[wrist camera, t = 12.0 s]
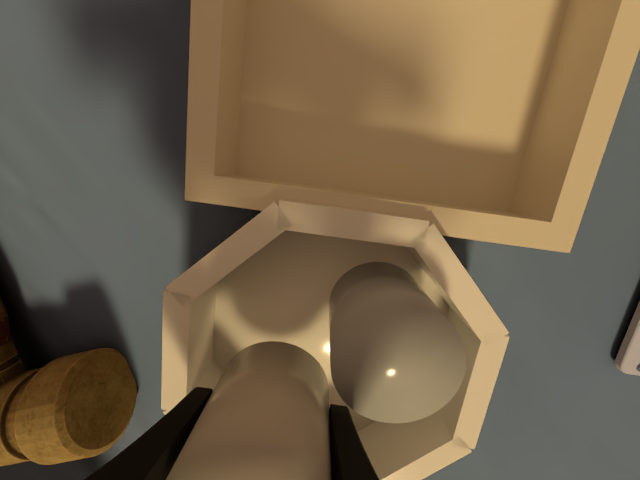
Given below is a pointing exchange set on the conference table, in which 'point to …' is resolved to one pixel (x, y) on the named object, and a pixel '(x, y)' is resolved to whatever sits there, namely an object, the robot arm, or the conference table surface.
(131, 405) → the gavel
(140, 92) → the conference table surface
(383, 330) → the stone
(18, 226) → the conference table surface
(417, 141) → the tray
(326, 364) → the bowl
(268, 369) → the stone
